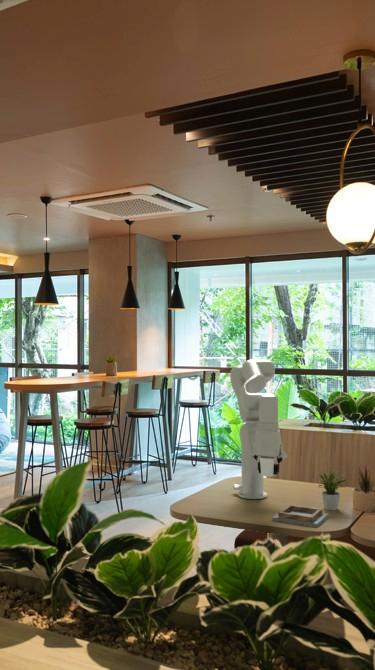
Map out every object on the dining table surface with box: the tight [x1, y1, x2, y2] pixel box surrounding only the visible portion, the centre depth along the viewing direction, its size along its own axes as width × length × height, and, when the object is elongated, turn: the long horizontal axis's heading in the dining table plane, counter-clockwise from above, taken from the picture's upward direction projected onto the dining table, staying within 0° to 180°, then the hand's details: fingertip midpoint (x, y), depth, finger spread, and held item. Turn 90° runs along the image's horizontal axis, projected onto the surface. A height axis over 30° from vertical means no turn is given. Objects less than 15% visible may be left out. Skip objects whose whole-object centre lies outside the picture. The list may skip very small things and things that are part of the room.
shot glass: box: [260, 456, 276, 477], centre depth 235 cm, size 7×7×7 cm
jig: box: [271, 504, 329, 528], centre depth 227 cm, size 17×15×3 cm
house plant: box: [314, 466, 351, 511], centre depth 241 cm, size 14×14×16 cm
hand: (268, 472), depth 235 cm, fingers closed on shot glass, 5 cm apart
